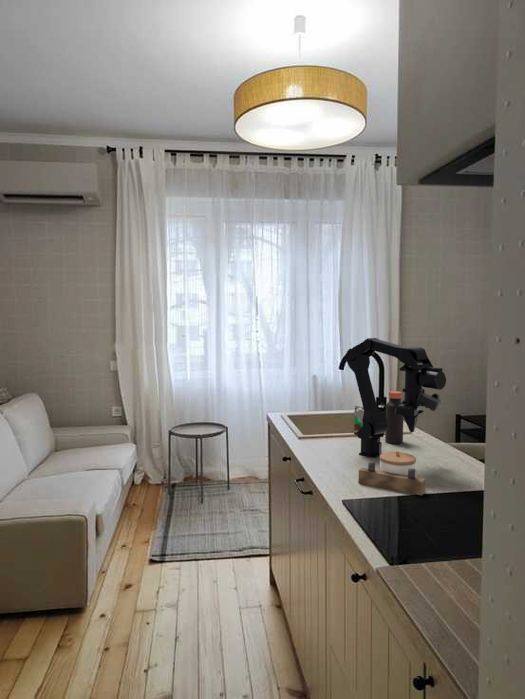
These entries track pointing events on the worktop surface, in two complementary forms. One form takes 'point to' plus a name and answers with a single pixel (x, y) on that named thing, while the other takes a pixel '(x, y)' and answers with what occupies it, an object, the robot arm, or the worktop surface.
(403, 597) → the worktop surface
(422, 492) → the stop bar
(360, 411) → the food container
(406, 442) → the worktop surface
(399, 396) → the bottle
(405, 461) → the lidded jar
